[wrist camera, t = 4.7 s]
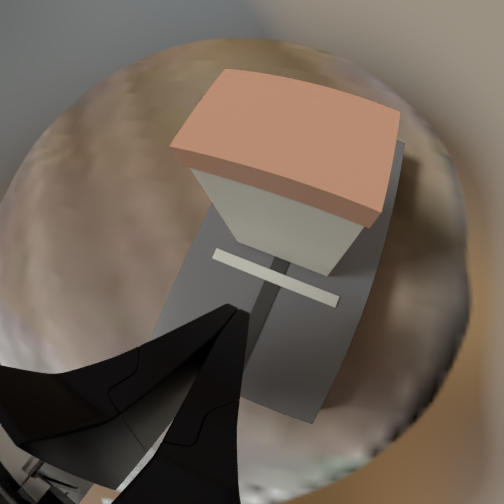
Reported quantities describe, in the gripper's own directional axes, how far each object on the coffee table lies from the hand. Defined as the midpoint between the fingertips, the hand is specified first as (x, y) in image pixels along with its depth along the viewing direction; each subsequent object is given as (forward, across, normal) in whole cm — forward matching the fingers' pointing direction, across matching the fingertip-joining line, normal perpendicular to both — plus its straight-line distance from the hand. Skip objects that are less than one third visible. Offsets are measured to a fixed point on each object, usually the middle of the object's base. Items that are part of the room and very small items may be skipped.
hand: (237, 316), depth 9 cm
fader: (+7, 0, 0) cm, 7 cm away
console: (+8, 0, +2) cm, 8 cm away
